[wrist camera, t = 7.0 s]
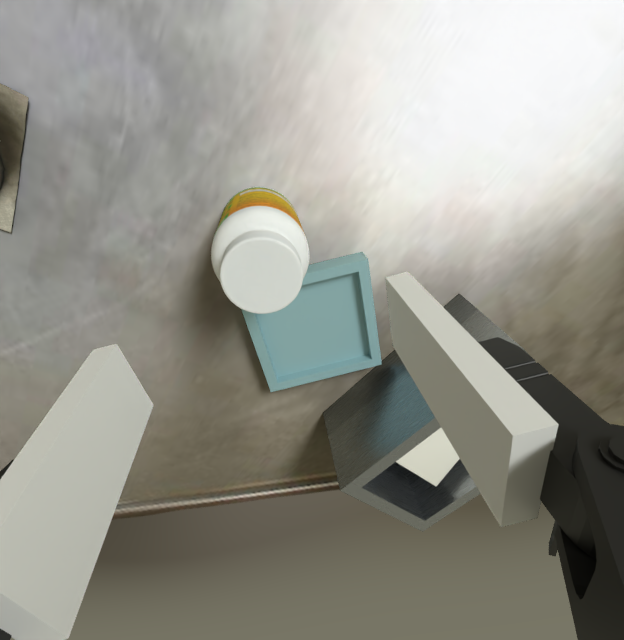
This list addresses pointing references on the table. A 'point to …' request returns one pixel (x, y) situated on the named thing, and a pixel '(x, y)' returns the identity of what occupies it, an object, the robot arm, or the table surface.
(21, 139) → the condiment
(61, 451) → the robot arm
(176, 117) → the table surface
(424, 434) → the guard box
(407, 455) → the block
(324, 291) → the tray
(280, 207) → the supplement bottle
